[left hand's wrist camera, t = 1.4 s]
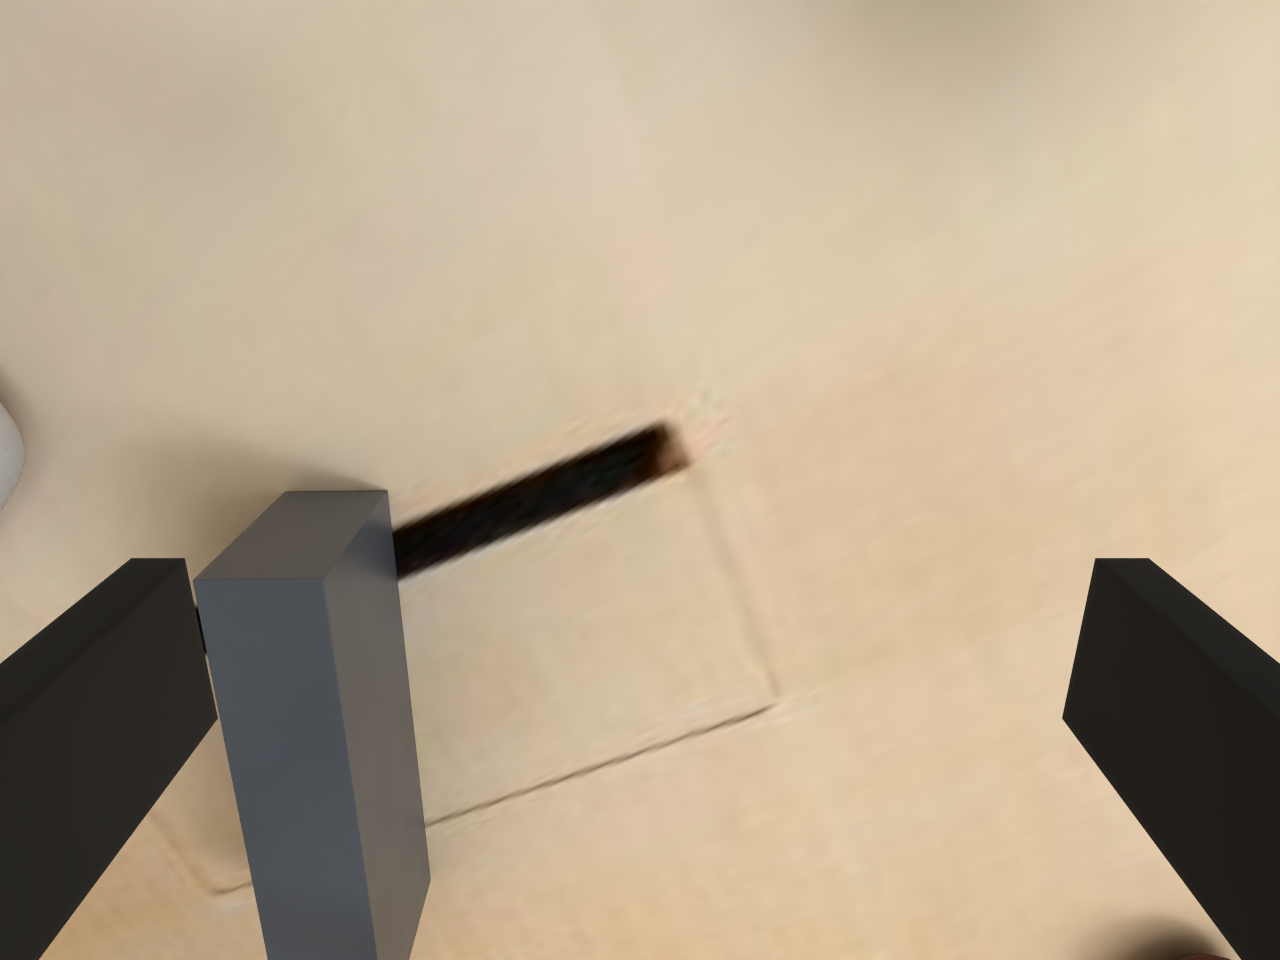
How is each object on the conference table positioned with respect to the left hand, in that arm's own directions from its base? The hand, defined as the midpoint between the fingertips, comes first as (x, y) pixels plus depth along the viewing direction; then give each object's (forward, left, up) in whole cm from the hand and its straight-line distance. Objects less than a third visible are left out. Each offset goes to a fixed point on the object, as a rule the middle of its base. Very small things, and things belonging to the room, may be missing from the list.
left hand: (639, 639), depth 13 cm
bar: (+21, -8, -26) cm, 34 cm away
